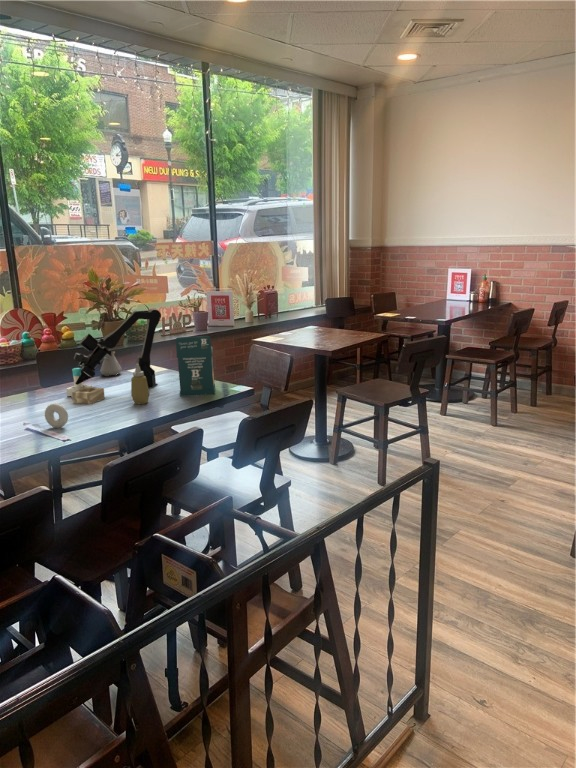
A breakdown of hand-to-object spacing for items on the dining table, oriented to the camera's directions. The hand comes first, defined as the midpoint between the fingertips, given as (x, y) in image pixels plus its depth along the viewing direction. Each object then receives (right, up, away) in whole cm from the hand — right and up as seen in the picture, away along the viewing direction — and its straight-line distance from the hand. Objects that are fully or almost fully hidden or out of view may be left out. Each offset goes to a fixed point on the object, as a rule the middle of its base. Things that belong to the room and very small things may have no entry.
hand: (75, 382), depth 270 cm
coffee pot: (+3, +3, +39) cm, 40 cm away
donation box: (+59, -5, +2) cm, 59 cm away
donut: (+11, -18, -47) cm, 52 cm away
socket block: (+10, -9, -8) cm, 15 cm away
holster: (+1, -6, +2) cm, 7 cm away
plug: (+1, -6, +2) cm, 7 cm away
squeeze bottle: (+36, -10, -15) cm, 40 cm away
